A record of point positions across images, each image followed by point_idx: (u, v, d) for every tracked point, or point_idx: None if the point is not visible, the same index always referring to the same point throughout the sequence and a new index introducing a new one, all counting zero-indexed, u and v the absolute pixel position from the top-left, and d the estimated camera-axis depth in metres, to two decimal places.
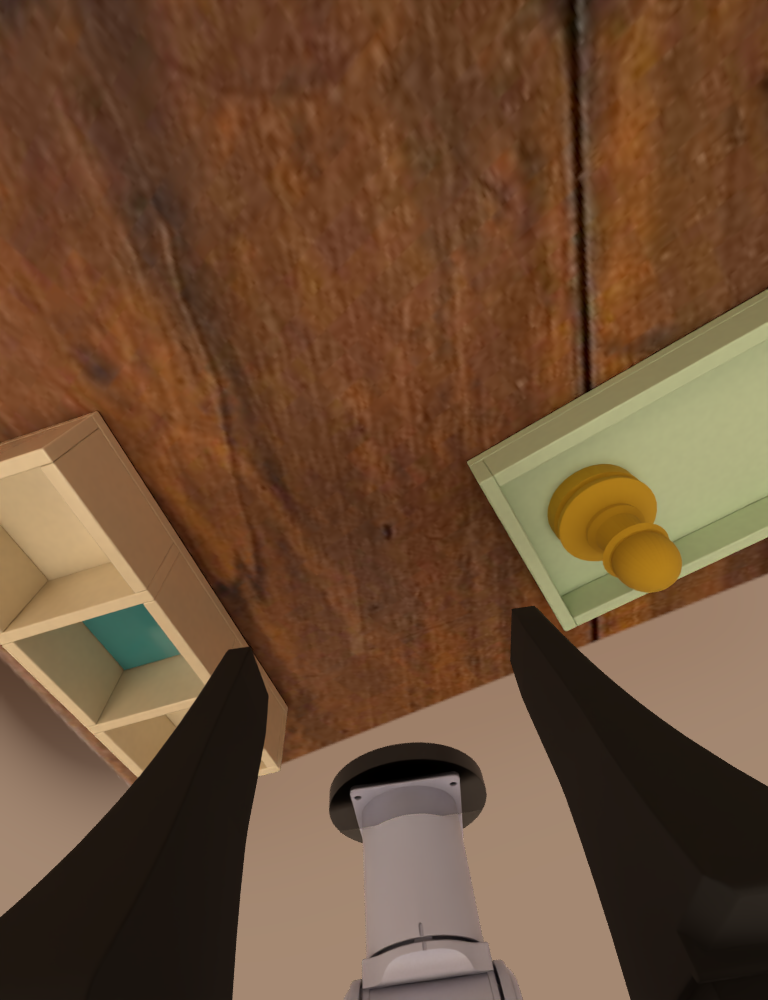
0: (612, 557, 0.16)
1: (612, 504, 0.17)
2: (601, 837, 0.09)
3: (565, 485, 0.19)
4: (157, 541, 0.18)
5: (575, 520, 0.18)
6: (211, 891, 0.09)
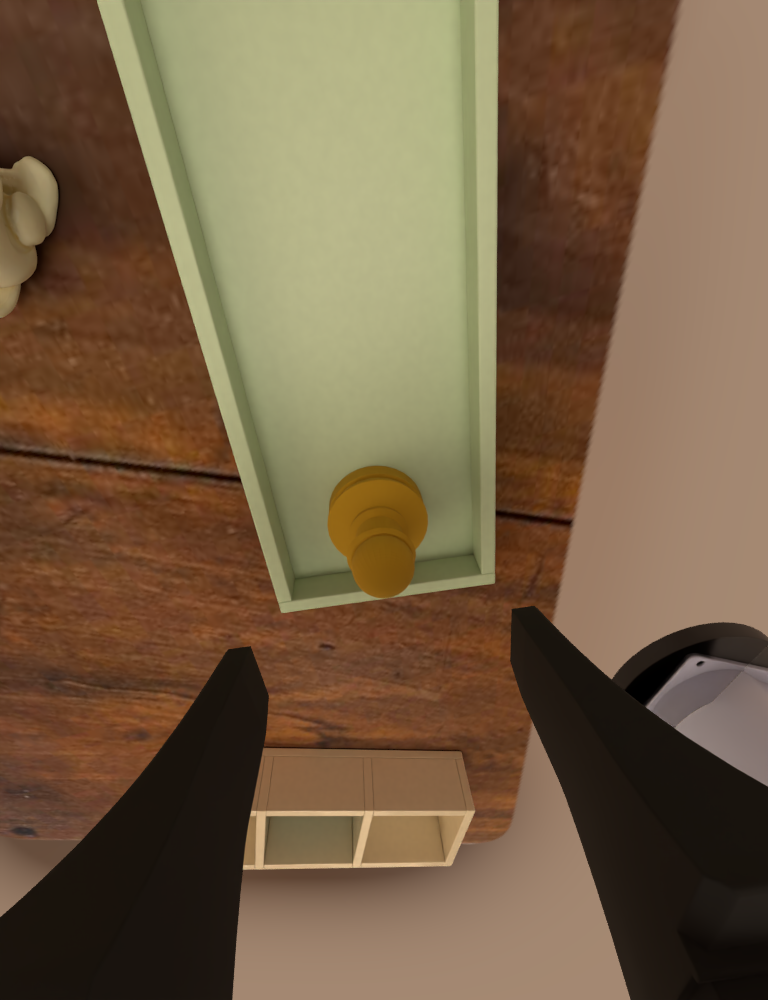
0: None
1: (350, 528, 0.17)
2: (601, 837, 0.09)
3: None
4: None
5: None
6: (211, 891, 0.09)
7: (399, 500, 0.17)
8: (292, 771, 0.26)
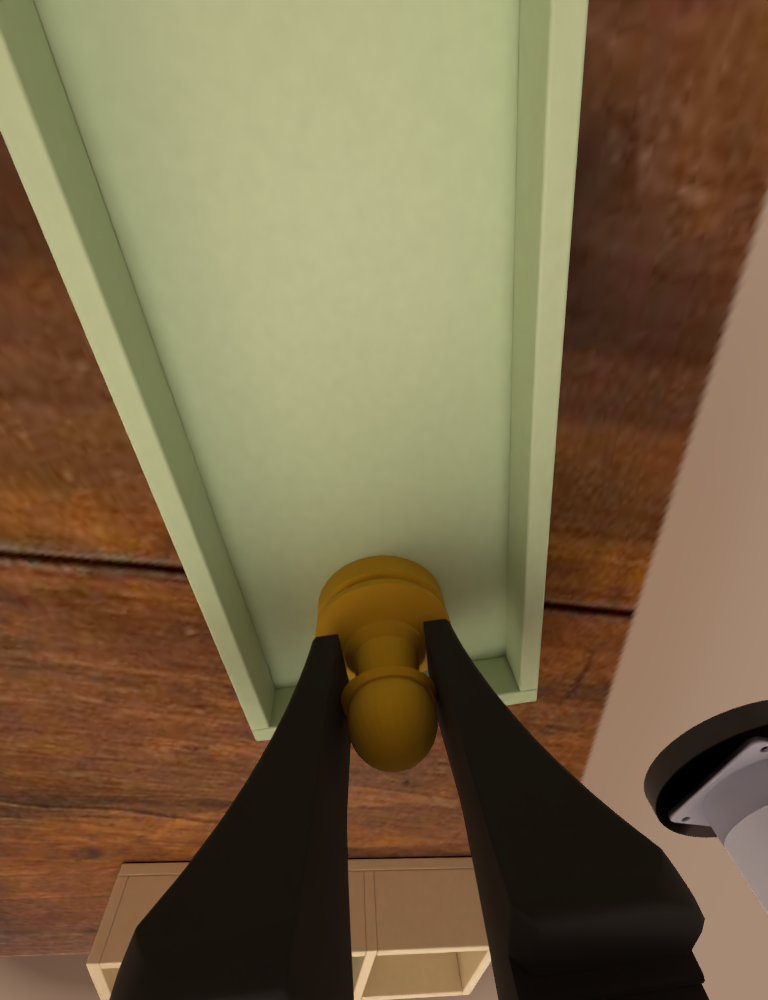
0: None
1: (346, 646, 0.13)
2: (477, 855, 0.09)
3: None
4: None
5: (355, 674, 0.14)
6: (335, 873, 0.09)
7: (413, 610, 0.12)
8: None
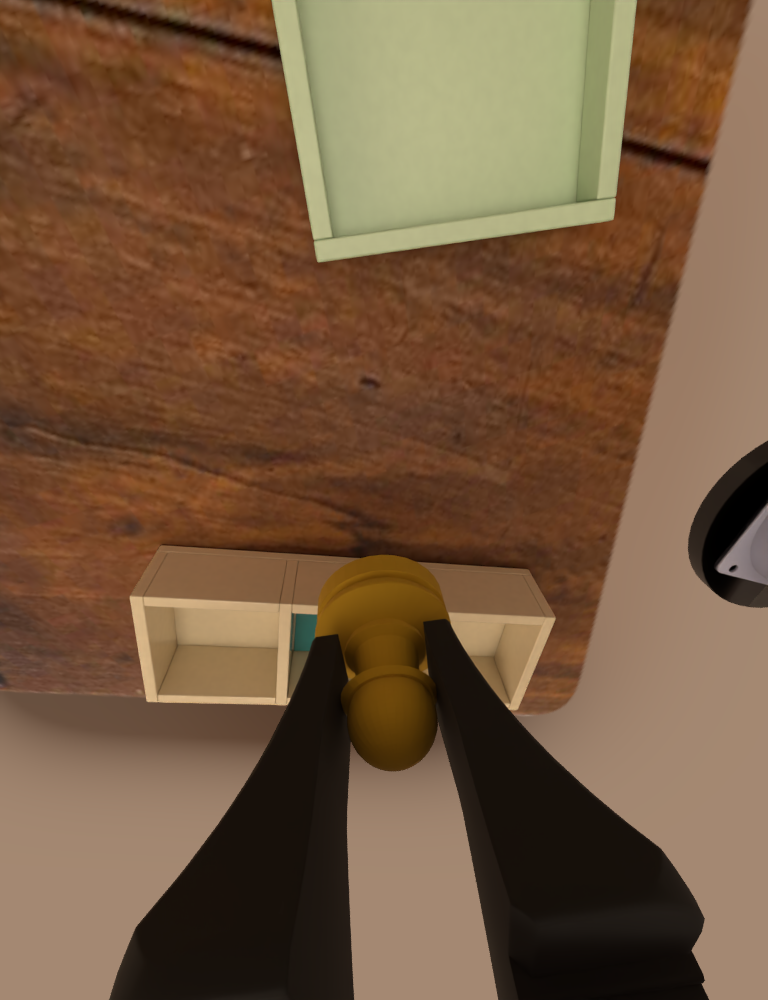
0: None
1: (346, 645, 0.13)
2: (477, 855, 0.09)
3: None
4: (268, 570, 0.20)
5: (355, 673, 0.14)
6: (335, 873, 0.09)
7: (413, 609, 0.12)
8: (322, 573, 0.20)
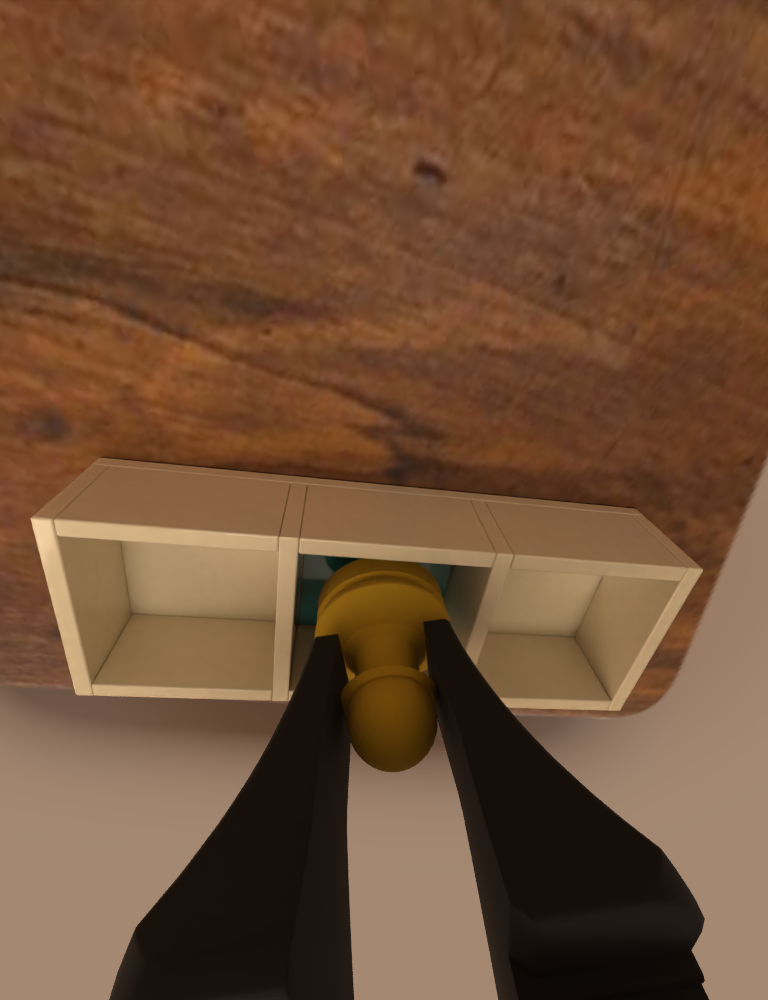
0: None
1: (346, 646, 0.13)
2: (477, 855, 0.09)
3: None
4: (262, 494, 0.13)
5: (355, 674, 0.14)
6: (335, 873, 0.09)
7: (413, 609, 0.12)
8: (344, 501, 0.13)
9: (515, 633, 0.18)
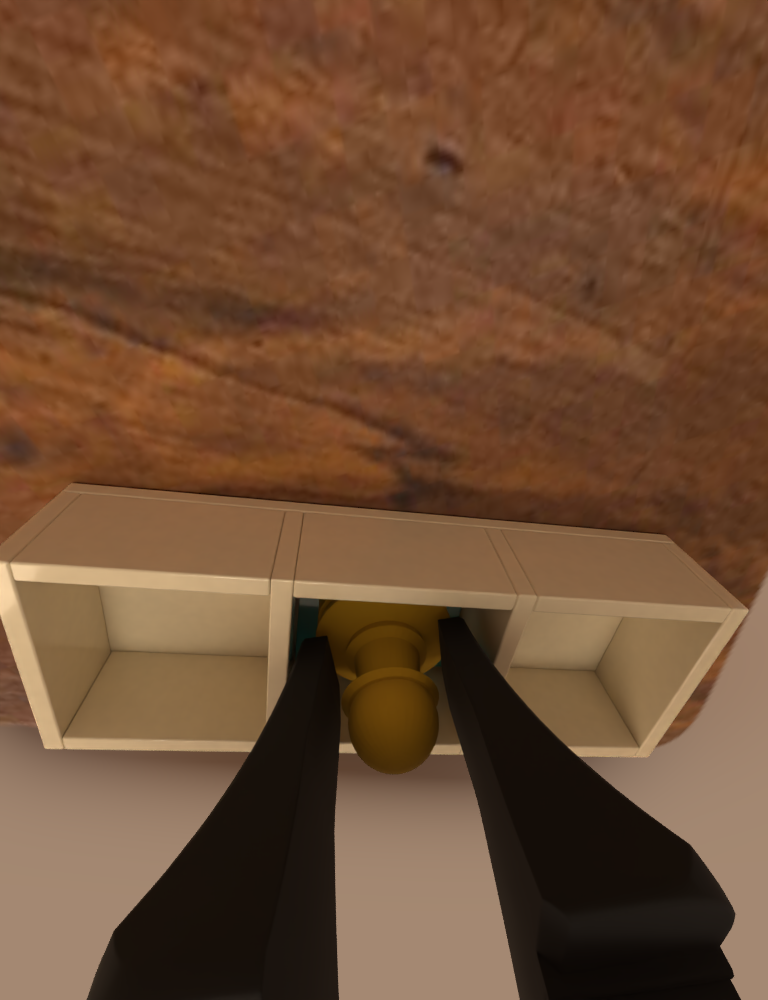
0: None
1: (347, 647, 0.13)
2: (497, 852, 0.09)
3: None
4: (253, 525, 0.12)
5: (356, 675, 0.14)
6: (320, 875, 0.09)
7: (414, 611, 0.12)
8: (345, 532, 0.12)
9: (531, 668, 0.17)
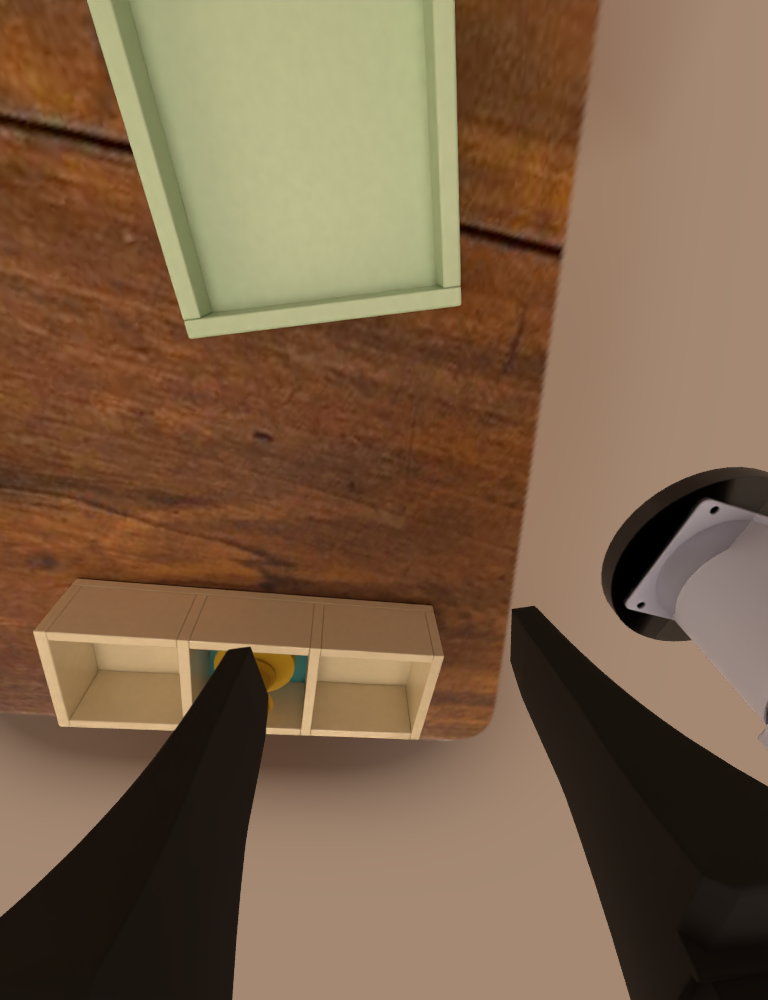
0: None
1: None
2: (601, 837, 0.09)
3: None
4: (175, 605, 0.21)
5: None
6: (211, 891, 0.09)
7: None
8: (227, 609, 0.22)
9: (363, 683, 0.26)
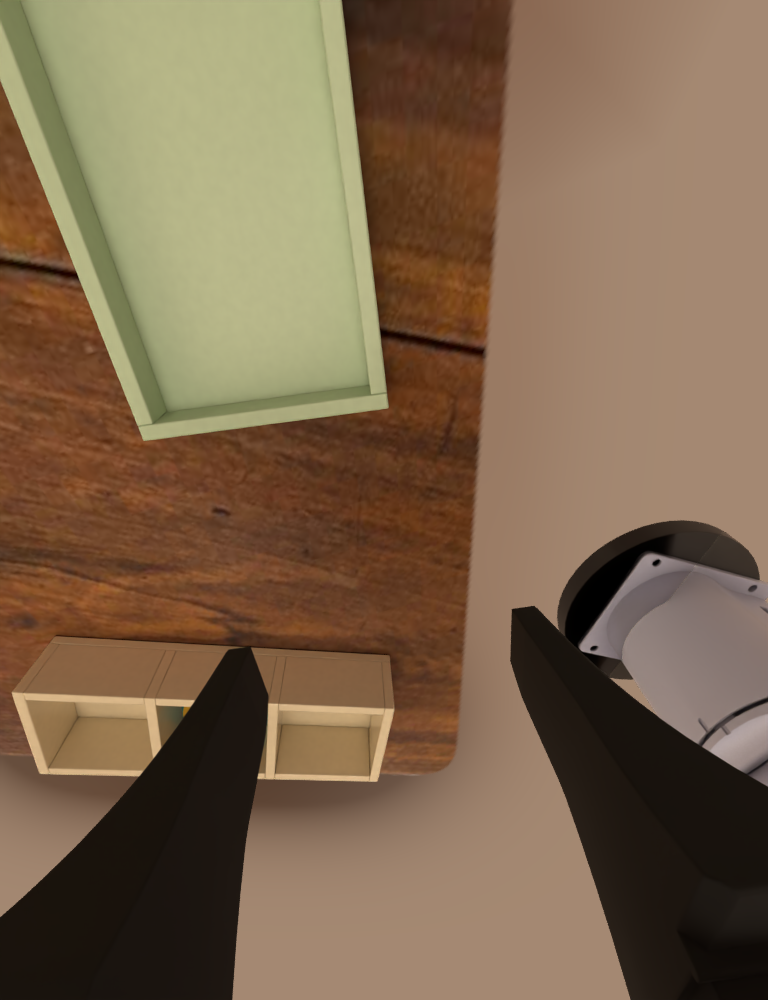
0: None
1: None
2: (601, 837, 0.09)
3: None
4: (145, 662, 0.23)
5: None
6: (211, 891, 0.09)
7: None
8: (193, 664, 0.23)
9: (328, 726, 0.28)
